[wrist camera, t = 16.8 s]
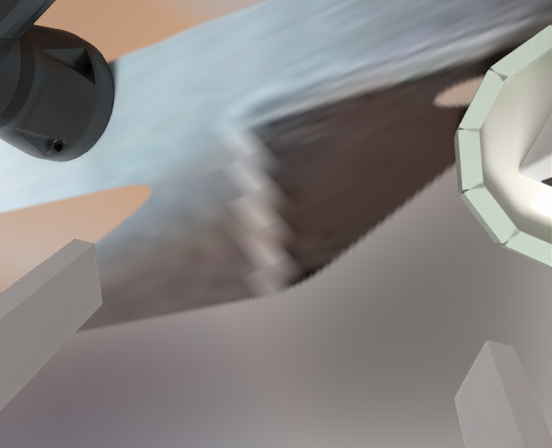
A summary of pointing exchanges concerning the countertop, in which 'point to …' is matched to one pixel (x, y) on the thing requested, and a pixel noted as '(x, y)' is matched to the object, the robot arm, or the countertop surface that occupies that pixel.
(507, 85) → the round tray
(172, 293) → the countertop surface
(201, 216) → the countertop surface
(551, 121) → the container
